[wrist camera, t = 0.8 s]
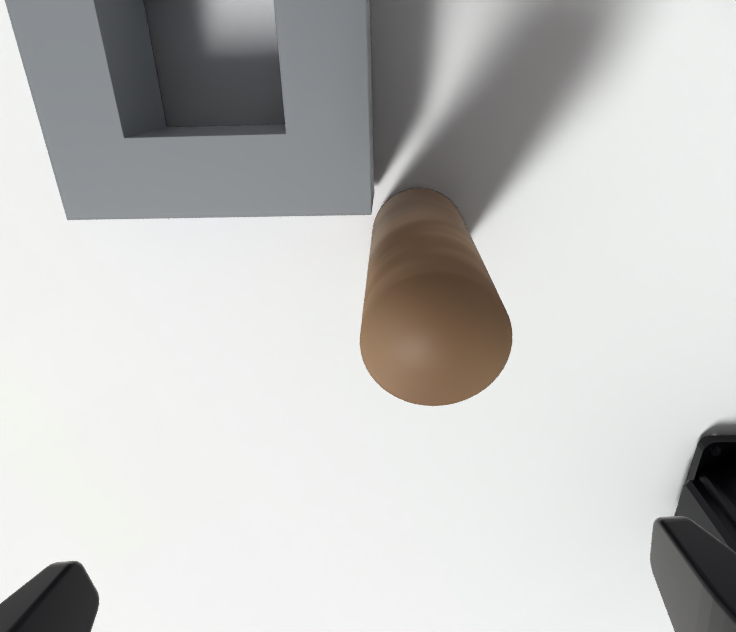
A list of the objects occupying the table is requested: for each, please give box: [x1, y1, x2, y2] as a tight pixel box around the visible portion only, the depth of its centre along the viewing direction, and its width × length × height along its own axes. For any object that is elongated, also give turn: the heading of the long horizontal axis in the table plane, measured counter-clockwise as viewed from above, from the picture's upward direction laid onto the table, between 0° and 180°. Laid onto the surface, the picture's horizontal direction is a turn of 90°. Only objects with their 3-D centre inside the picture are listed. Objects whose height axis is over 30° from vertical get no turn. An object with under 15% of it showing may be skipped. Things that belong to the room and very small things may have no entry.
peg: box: [360, 188, 512, 406], centre depth 15 cm, size 3×3×8 cm
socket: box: [5, 0, 374, 220], centre depth 14 cm, size 9×9×3 cm
